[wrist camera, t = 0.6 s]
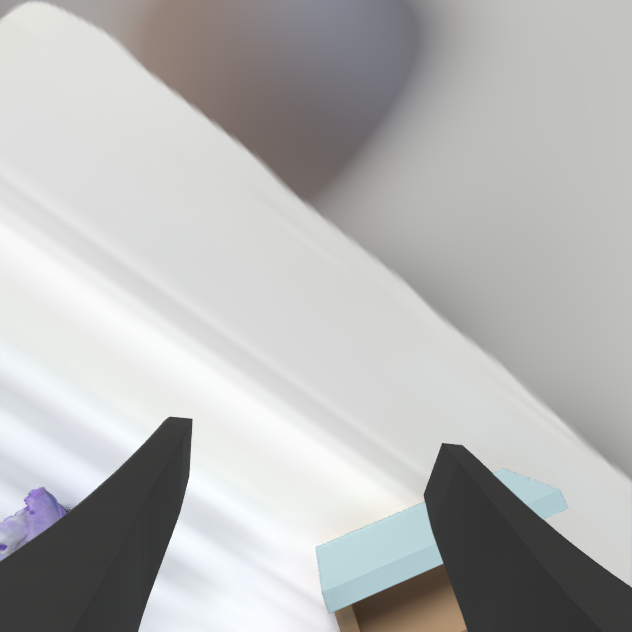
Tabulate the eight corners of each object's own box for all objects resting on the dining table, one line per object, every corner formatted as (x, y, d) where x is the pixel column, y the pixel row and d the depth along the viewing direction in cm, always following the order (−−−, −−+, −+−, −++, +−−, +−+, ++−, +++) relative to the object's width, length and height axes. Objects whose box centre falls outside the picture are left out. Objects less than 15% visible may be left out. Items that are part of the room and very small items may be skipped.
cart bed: (537, 585, 34) (589, 627, 28) (359, 667, 32) (374, 730, 26) (493, 478, 35) (533, 496, 29) (320, 551, 33) (325, 586, 27)
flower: (111, 602, 26) (-72, 571, 22) (55, 679, 28) (-121, 663, 24) (137, 488, 34) (7, 450, 30) (92, 554, 36) (-35, 527, 32)
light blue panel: (510, 483, 32) (568, 508, 25) (321, 563, 30) (328, 614, 24) (503, 468, 32) (560, 489, 26) (315, 547, 31) (321, 592, 24)
